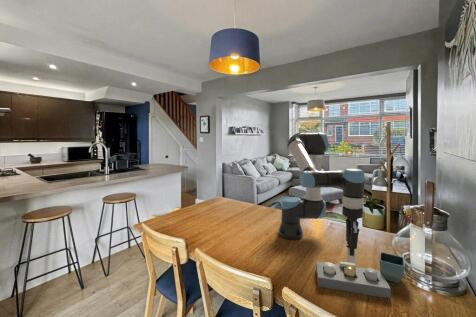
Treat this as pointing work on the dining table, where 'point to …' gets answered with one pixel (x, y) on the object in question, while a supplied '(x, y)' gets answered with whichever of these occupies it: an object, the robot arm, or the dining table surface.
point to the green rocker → (346, 264)
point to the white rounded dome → (371, 274)
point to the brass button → (349, 271)
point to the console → (352, 281)
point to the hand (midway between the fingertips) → (350, 261)
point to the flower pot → (392, 267)
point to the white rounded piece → (329, 268)
